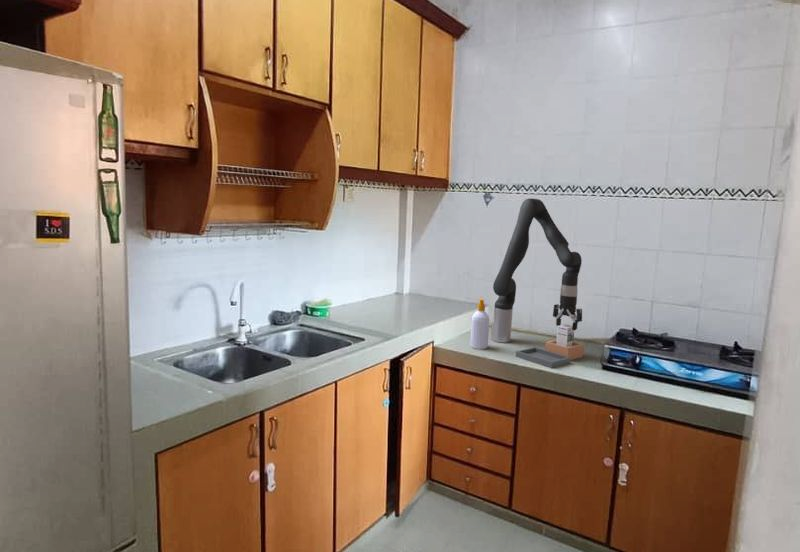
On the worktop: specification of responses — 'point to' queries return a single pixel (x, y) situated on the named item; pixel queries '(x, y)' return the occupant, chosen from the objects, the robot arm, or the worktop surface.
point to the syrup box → (565, 335)
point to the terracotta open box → (566, 349)
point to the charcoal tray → (543, 357)
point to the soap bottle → (480, 327)
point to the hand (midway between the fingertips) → (566, 328)
